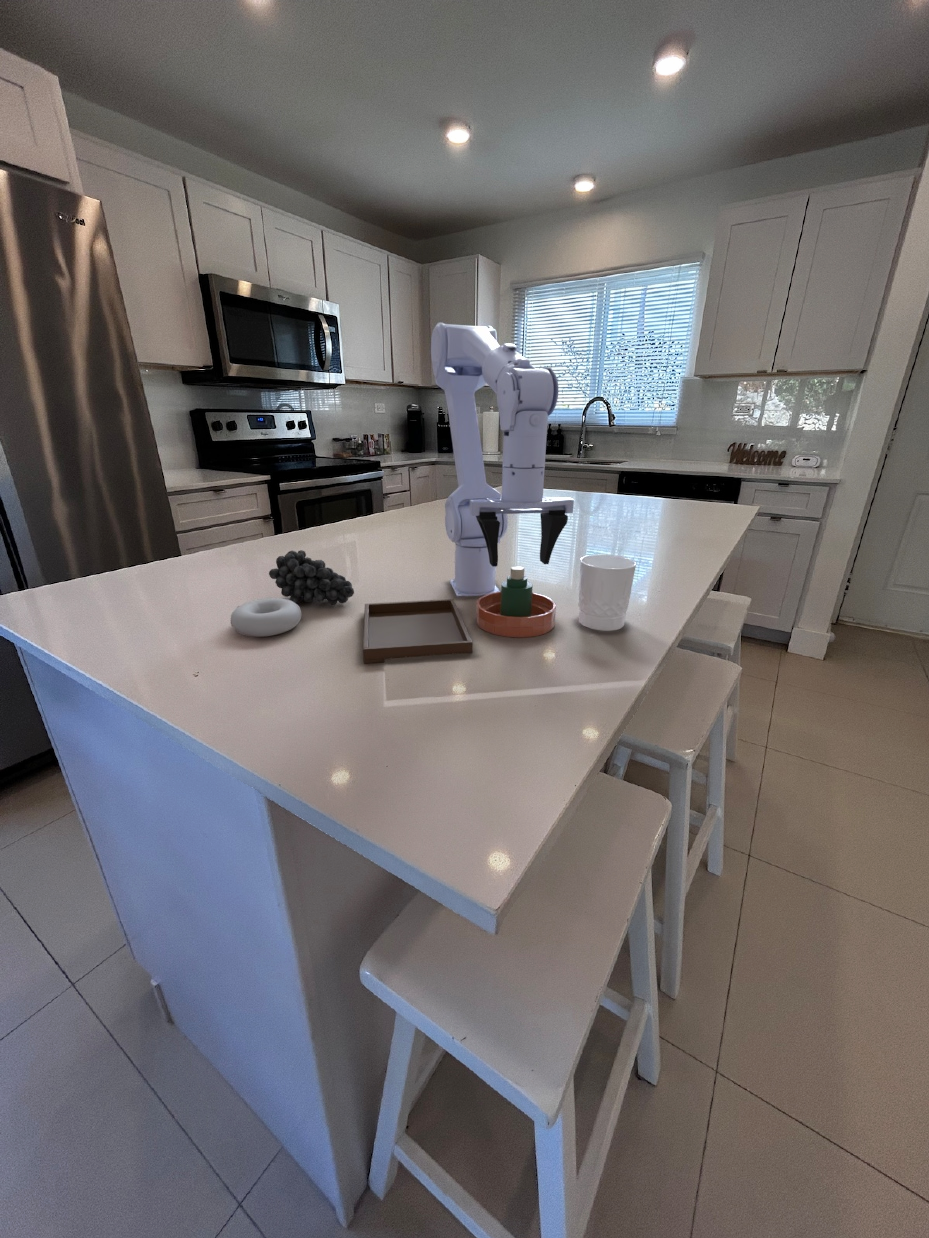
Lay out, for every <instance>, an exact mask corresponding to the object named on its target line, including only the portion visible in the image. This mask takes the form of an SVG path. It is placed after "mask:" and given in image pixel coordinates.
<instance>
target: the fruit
mask: <svg viewBox="0 0 929 1238" xmlns="http://www.w3.org/2000/svg"><path fill="white" fill-rule="evenodd" d="M275 563H276V567H275V568H271V569H270V570H269V571H268V575H269V577H270V578H271V579H272V580H275V581H274V583H275V585H276V587H278V588H279V589H281V590H280V591H281V592H280V594H281V595H282V596H283V597H285V598H289V597H290V599H289V600H290V601H293V602H294V603H296V604H297V605H298V604H301V603H302V601H304V602H305V603H312V602H313V600H316V601H317V602H323V601H325V600H326V602H327V603H328V605H330V606H336V605H337V604H338V603H339V604H345V603H347V602H348V601H349V599H350V598H351V597H353V596H354V595H355V590H354V589H355V588H353V584H352V582H351V581H349V580H347V579H346V577H345V576H343V575H341V574H339V573H338V572H334V570H333V569H332V568H331V567H326V563H325V560H322V559H315V560H312V558H311V557H308V556H307V553H306V551H304V550H298V551H296V550H289V551H288V552H287V553H286V554H285V555H279V556H278V557H277V558H276V559H275Z"/></svg>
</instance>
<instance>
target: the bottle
mask: <svg viewBox="0 0 929 1238" xmlns="http://www.w3.org/2000/svg"><path fill="white" fill-rule="evenodd" d="M500 591H501V611H500V615H503V616H510V617H530V616H531V603H532V593H533V583H532V582H530V581H528V577H527V576H526V575H525V567H523V566H520V565H519V566H518V565H517V566H511V567H510V574H509V575H508V576H507V577H506V580H504V581H502V582H501V585H500Z"/></svg>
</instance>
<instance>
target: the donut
mask: <svg viewBox="0 0 929 1238" xmlns="http://www.w3.org/2000/svg"><path fill="white" fill-rule="evenodd" d="M301 620H302V610H301V607H300V606H299V605H298V604H296V603H294V602H293V601H291V600H290V599H287V598H280V597H267V598H259V599H254V600H250V601H248V602H245V603H243V604H241V605H238V606H237V607H236V608H235V609H234V610H233V611H232V613H231V615H230V625H231V627H232V628H233V629H234V630H235V631H236V632H237V633H238V634H241V635H243V636H247V637H255V638H261V637H263V638H265V637H271V636H276V635H280V634H283V633H286V632H288V631H290V630H292V629H294V628H296V627H297V625H298V624H299V623H300V621H301Z"/></svg>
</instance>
